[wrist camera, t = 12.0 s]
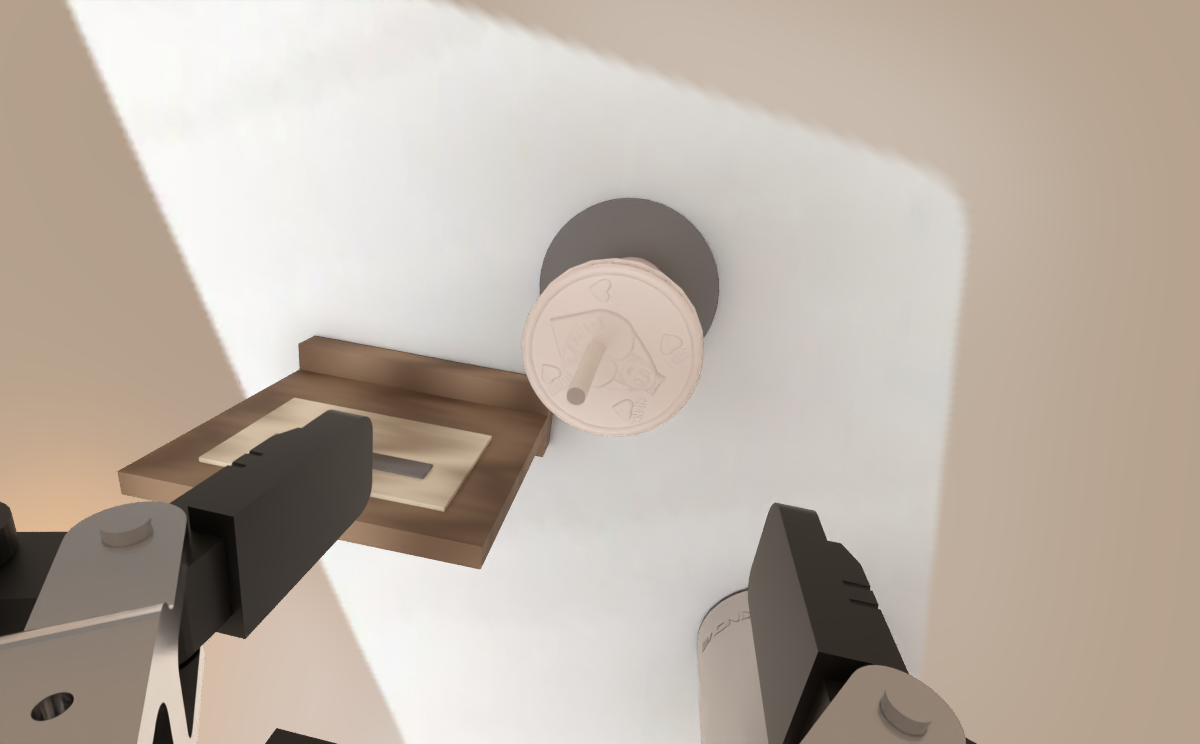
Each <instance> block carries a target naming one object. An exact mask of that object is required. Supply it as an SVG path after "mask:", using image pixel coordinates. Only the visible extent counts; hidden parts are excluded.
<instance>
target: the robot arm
mask: <svg viewBox="0 0 1200 744" xmlns="http://www.w3.org/2000/svg"><path fill="white" fill-rule="evenodd" d="M372 467H373V426H372V422H371V420H370V418H369V417H367V416H362V415H357V414H352V413H347V412H343V411H338V410H333V409H330V410H327V411H326V412H324V413H323V414H321V415H320V416H318V417H317V418H315V419H314V420H312V421H311V422H310V423H308V424H307V425H305V426H304V427H302V428H295V429H292V430H289V431H286V432H283V433H281V434H278V435H275V436H272V437H270V438H268V439H267V440H265V441H264V442H262V443H261V444H259V445H257V446H256V447H254V448H253V449H251V450H250V452H249V454H246V453H245V454H244V455H242V456H241V457H239V458H238V459H236V460H235V461H233V462H232V465H231V466H230V465H227V466H225V467H224V468H222V469H221V470H219V471H218V472H216V473H215V474H213V475H212V476H210V477H209V478H207V479H206V480H204V481H203V482H201V483H199V484H198V485H196V486H195V487H193V488H192V489H190V490H189V491H187V492H186V493H184V494H183V495H181V496H180V497H178V498H177V499H175V500H174V501H172V502H170V503H164V502H137V503H130V504H124V505H121V506H116V507H113V508H109V509H106V510H103V511H101V512H99V513H96V514H94V515H92V516H90V517H88V518H86V519H84V520H82V521H81V522H79V523H78V524H76V525H75V526H74V527H73V528H71V529H70V530H69V531H68V532H16V528H15V525H14V521H13V517H12V513H11V511H10V508H9V507H8V506H7V505H6V504H4V503H1V502H0V744H197V743H198V731H199V720H200V708H201V696H202V684H203V672H204V659H205V657H204V647H203V644H204V643H205V642H206V641H207V640H208V639H209V638H210V637H211V636H212V635H213V634H214V633H215V632H219V633H223V634H227V635H231V636H235V637H239V638H243V639H246V638H247V637H248V636H249V634H250V633H251V632H252V631H253V630H254V629H255V628H256V627H257V626H258V625H259V624H260V623H261V622H262V620H263V619H264V618H265V617H266V616H267V615H268V614H269V613H270V612H271V611H272V610H273V609H274V608H275V606H276V605H277V604H278V603H279V602H280V601H281V600H282V599H283V598H284V597H285V596H286V595H287V594H288V592H289V591H290V590H291V589H292V588H293V587H294V586H295V585H296V584H297V583H298V582H299V581H300V580H301V578H302V577H303V576H304V575H305V574H306V573H307V572H308V571H309V570H310V569H311V568H312V566H314V564H315V563H316V562H317V561H318V560H319V559H320V558H321V557H322V556H323V555H324V554H325V553H326V552H327V550H328V549H329V548H330V547H331V546H332V545H333V544H334V543H335V542H336V541H337V540H338V539H339V538H340V536H341V535H342V534H343V533H344V532H345V531H346V530H347V529H348V528H349V527H350V526H351V525H352V524H353V522H354V521H355V520H356V519H357V518H358V517H359V516H360V515H361V514H362V512H363V511H364V509H365V507H366V505H367V503H368V500H369V498H370V494H371V490H372ZM697 652H698V676H699V707H700V730H701V744H976V743H974V742H973V741H971V740H969V739H967V738H966V737H965V734H964V731H963V728H962V726H961V724H960V721H959V720H958V718H957V717H956V715H955V713H954V712H953V711H952V709H951V708H950V707H949V706H948V704H947V703H946V702H945V701H944V700H943V699H942V698H941V697H940V696H939V695H937V693H935V692H934V691H933V690H932V689H931V688H929V687H928V686H927V685H925V684H924V683H923V682H921V681H919V680H918V679H916V678H914V677H913V676H911V675H909V673H908V671H907V669H906V667H905V664H904V662H903V660H902V658H901V655H900V653H899V651H898V648H897V646H896V644H895V642H894V639H893V637H892V635H891V632H890V630H889V628H888V626H887V623H886V621H885V619H884V616H883V614H882V612H881V610H879V609H878V603H877V601H876V598H875V596H874V594H873V591H870V585H869V582H868V580H867V578H866V575H865V573H864V571H863V569H862V566H861V564H860V563H859V562H858V561H857V560H856V559H855V558H854V557H853V556H852V555H851V554H850V553H849V552H848V550H847V549H846V548H845V547H844V546H843V545H842V544H841V543H836V542H831V541H827V539H826V536H825V533H824V531H823V528H822V525H821V523H820V520H819V517H818V515H817V513H816V512H815V511H813V510H808V509H804V508H799V507H794V506H789V505H784V504H780V503H774V504H773V505H772V506H771V508H770V510H769V513H768V516H767V519H766V522H765V525H764V529H763V532H762V535H761V538H760V542H759V545H758V548H757V551H756V555H755V558H754V561H753V564H752V568H751V572H750V577H749V584H748V590H747V591H744V592H741V593H738V594H735V595H732V596H731V597H729V598H727V599H725V600H724V601H722V602H720V603H719V604H718V605H717V606H716V607H714V608H713V609H712V610H711V611H710V612H709V614H708V615H707V616H706V618H705V619H704V621H703V622H702V625H701V627H700V630H699V633H698V642H697ZM265 744H336V743H332V742H328V741H324V740H321V739H317V738H313V737H309V736H305V735H301V734H297V733H293V732H289V731H285V730H282V729H278V728H277V729H276V730H275V731H274V732H273V734H272V735H271V736H270V738H269V739H268V741H267V742H266V743H265Z"/></svg>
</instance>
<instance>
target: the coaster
mask: <svg viewBox="0 0 1200 744" xmlns="http://www.w3.org/2000/svg"><path fill="white" fill-rule="evenodd" d="M624 257H638V258H642V259H645V260H647V261H649V262H651V263H653V264H654V265H655V266H656V267H657V268H658V269H659V270H660V271H661V272H662V273H664V274H665V275H666V276H667V277H668V278H670V279H671V280H672V281H673V282H674V283H676V284H677V285H678V286H679V287H680V288H681V289H682V290H683V291H684V293H685V294H686V296H687V297H688V299H689V300H690V302H691V303H692V305H693V306H694V307H695V310H696V313H697V315H698V318H699V321H700V324H701V327H702V330H703V338H704V336H705V335H706V333H707V331H708V329H709V328H710V326H711V324H712V321H713V318H714V316H715V312H716V308H717V304H718V296H719V279H718V273H717V268H716V264H715V261H714V258H713V255H712V253H711V251H710V249H709V247H708V244H707V243H706V241H705V240H704V238H703V237H702V235H701V233H700V232H699V231H698V230H697V229H696V228H695V227H694V225H693V224H692V223H690V222H689V221H688V220H687V219H686V218H685V217H684V216H682V215H681V214H679V213H678V212H676V211H675V210H673V209H671V208H669V207H667V206H665V205H662V204H659V203H656V202H653V201H650V200H644V199H637V198H623V199H614V200H609V201H605V202H602V203H599V204H597V205H594V206H592V207H590V208H588V209H586V210H584V211H583V212H581V213H579V214H578V215H576V216H575V217H574V218H572V219H571V220H570V221H569V222H568V223H567V224H566V225H565V226H564V227H563V228H562V229H561V230H560V231H559V233H558V234H557V235H556V237H555V238H554V239H553V241H552V243H551V245H550V246H549V248H548V250H547V253H546V255H545V258H544V261H543V265H542V269H541V275H540V295H541V294H542V293H543V292H544V290H545V289H546V288H547V286H548V285H549V284H550V283H551V282H552V281H553V280H555V279H556V278H557V277H559V276H560V275H561V274H563V273H564V272H565V271H567V270H568V269H570V268H573V267H575V266H578V265H580V264H583V263H586V262H588V261H591V260H600V259H611V258H619V259H620V258H624Z"/></svg>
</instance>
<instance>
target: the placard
mask: <svg viewBox="0 0 1200 744" xmlns="http://www.w3.org/2000/svg"><path fill="white" fill-rule="evenodd" d="M299 364H300V370H298V371H296V372H294V373H292V374H291V375H289V376H287V377H285V378H284V379H282V380H280V381H278V382H276V383H275V384H273V385H271V386H269V387H267V388H266V389H264V390H262V391H260V392H259V393H257V394H255V395H253V396H251V397H250V398H248V399H246V400H244V401H242V402H241V403H239V404H237V405H235V406H234V407H232V408H230V409H228V410H226V411H225V412H223V413H221V414H219V415H218V416H216V417H214V418H212V419H211V420H209V421H207V422H205V423H203V424H201V425H200V426H198V427H196V428H194V429H192V430H191V431H189V432H187V433H185V434H184V435H182V436H180V437H178V438H176V439H175V440H173V441H171V442H169V443H167V444H166V445H164V446H162V447H160V448H159V449H157V450H155V451H153V452H151V453H150V454H148V455H146V456H144V457H143V458H141V459H139V460H137V461H135V462H134V463H132V464H130V465H128V466H126V467H125V468H123V469H121V470H119V471H118V477H119V482H120V487H121V492H122V494H124V495H128V496H133V497H138V498H143V499H147V500H152V501H157V502H164V503H170V502H172V501H174V500H175V499H177V498H178V497H180V496H181V495H183V494H184V493H186V492H187V491H189V490H190V489H192V488H193V487H195V486H196V485H198V484H199V483H201V482H203V481H204V480H206V479H207V478H209V477H210V476H212V475H213V474H215V473H216V472H218V471H219V470H221V469H222V468H224V467H225V466H227V465H230V466H231V465H232V462H233V461H235V460H236V459H238V458H239V457H241V456H242V455H244V454H245V453H246V454H249V452H250V450H251V449H253V448H254V447H256V446H257V445H259V444H261V443H262V442H264V441H265V440H267V439H268V438H270V437H272V436H275V435H278V434H281V433H283V432H286V431H289V430H292V429H295V428H302V427H304V426H305V425H307V424H308V423H310V422H311V421H312V420H314V419H315V418H317V417H318V416H320V415H321V414H323V413H324V412H326V411H327V410H330V409H333V410H338V411H343V412H347V413H352V414H357V415H362V416H367V417H369V418H370V420H371V422H372V426H373V467H372V490H371V494H370V498H369V500H368V503H367V505H366V507H365V509H364V511H363V512H362V514H361V515H360V516H359V517H358V518H357V519H356V520H355V521H354V522H353V524H352V525H351V526H350V527H349V528H348V529H347V530H346V531H345V532H344V533H343V534H342V535H341V536H340V538H339V539H338V540H343V541H347V542H352V543H357V544H362V545H367V546H371V547H376V548H381V549H386V550H390V551H395V552H400V553H405V554H409V555H414V556H419V557H424V558H428V559H433V560H438V561H443V562H447V563H452V564H457V565H462V566H467V567H471V568H476V569H481V567H482V565H483V563H484V561H485V559H486V557H487V555H488V553H489V551H490V548H491V546H492V544H493V542H494V540H495V538H496V536H497V534H498V532H499V530H500V528H501V525H502V523H503V521H504V519H505V517H506V515H507V513H508V511H509V509H510V507H511V505H512V502H513V500H514V498H515V496H516V494H517V492H518V490H519V488H520V486H521V484H522V482H523V479H524V477H525V475H526V473H527V471H528V469H529V467H530V465H531V463H532V461H533V459H534V457H535V456H540V457H543V455H544V453H545V451H546V449H547V446H548V444H549V436H550V428H551V420H552V412H551V411H550V410H549V409H548V408H547V407H546V406H545V405H544V404H543V403H542V401H541V400H540V399H539V397H538V396H537V395H536V393H535V391H534V390H533V388H532V386H531V384H530V382H529V380H528V377H527V375H523V374H517V373H512V372H507V371H501V370H496V369H491V368H485V367H480V366H474V365H469V364H464V363H458V362H453V361H448V360H442V359H437V358H431V357H426V356H421V355H415V354H410V353H405V352H399V351H394V350H388V349H383V348H378V347H372V346H367V345H361V344H356V343H351V342H345V341H340V340H335V339H329V338H324V337H318V336H314V337H311V338H309V339H307V340H305V341H303V342H301V343H299Z"/></svg>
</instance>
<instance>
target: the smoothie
mask: <svg viewBox="0 0 1200 744" xmlns="http://www.w3.org/2000/svg"><path fill="white" fill-rule="evenodd" d="M703 355H704V347H703V330H702V327H701V324H700V321H699V318H698V315H697V313H696V310H695V307H694V306H693V305H692V303H691V302H690V300H689V299H688V297H687V296H686V294H685V293H684V291H683V290H682V289H681V288H680V287H679V286H678V285H677V284H676V283H674V282H673V281H672V280H671V279H670V278H668V277H667V276H666V275H665V274H664V273H662V272H661V271H660V270H659V269H658V268H657V267H656V266H655V265H654V264H653V263H651V262H649V261H647V260H645V259H642V258H638V257H624V258H620V259H619V258H611V259H600V260H591V261H588V262H586V263H583V264H580V265H578V266H575V267H573V268H570V269H568V270H567V271H565V272H564V273H563V274H561V275H560V276H559V277H557V278H556V279H555V280H553V281H552V282H551V283H550V284H549V285H548V286H547V288H546V289H545V290H544V292H543V293H542V294H541V295H540V297H539V298H538V299H537V301H536V303H535V304H534V306H533V307H532V309H531V311H530V313H529V316H528V318H527V321H526V324H525V328H524V332H523V339H522V356H523V363H524V367H525V371H526V374H527V377H528V380H529V382H530V384H531V386H532V388H533V390H534V391H535V393H536V395H537V396H538V397H539V399H540V400H541V401H542V403H543V404H544V405H545V406H546V407H547V408H548V409H549V410H550V411H551V412H552V413H553V414H555V415H556V416H557V417H558V418H560V419H561V420H563V421H564V422H566V423H567V424H569V425H571V426H573V427H575V428H577V429H580V430H582V431H585V432H588V433H592V434H596V435H602V436H613V437H616V436H629V435H635V434H639V433H643V432H646V431H648V430H651V429H653V428H655V427H657V426H659V425H661V424H663V423H664V422H666V421H667V420H669V419H670V418H671V417H673V416H674V415H675V414H676V413H677V412H678V411H679V410H680V409H681V408H682V407H683V406H684V405H685V403H686V402H687V401H688V399H689V398H690V396H691V395H692V393H693V391H694V389H695V387H696V384H697V382H698V379H699V376H700V372H701V367H702V359H703Z"/></svg>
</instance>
